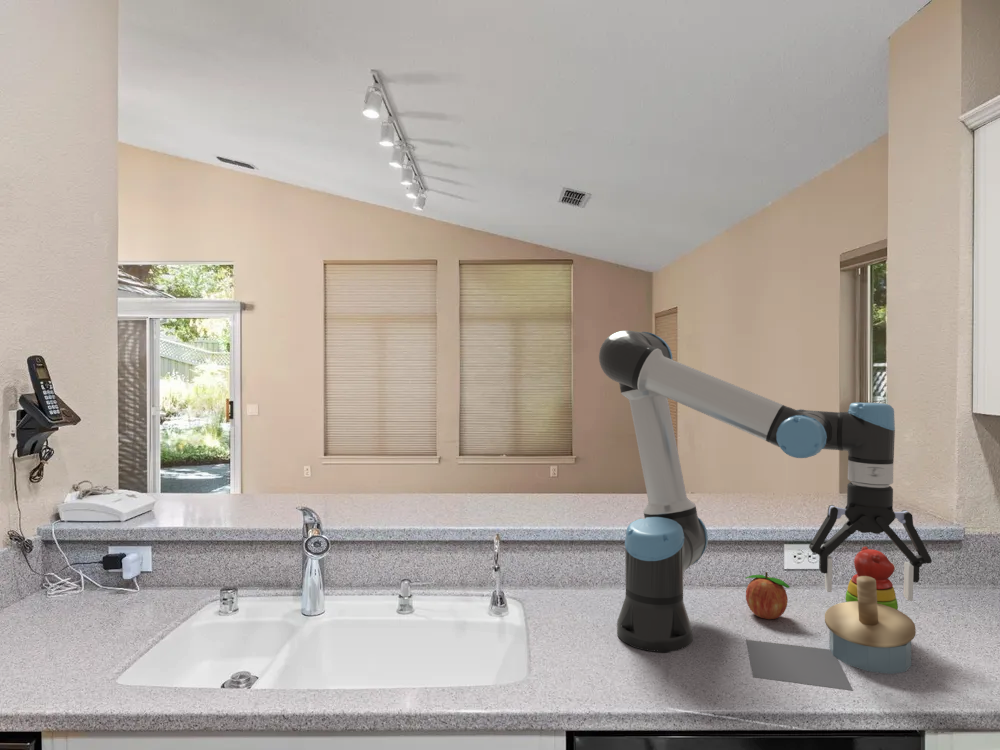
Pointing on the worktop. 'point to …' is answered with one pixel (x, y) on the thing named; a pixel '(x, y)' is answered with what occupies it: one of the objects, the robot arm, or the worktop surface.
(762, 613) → the fruit
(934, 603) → the worktop surface
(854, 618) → the lid
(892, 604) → the stacking bear
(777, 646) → the mat
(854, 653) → the bowl
